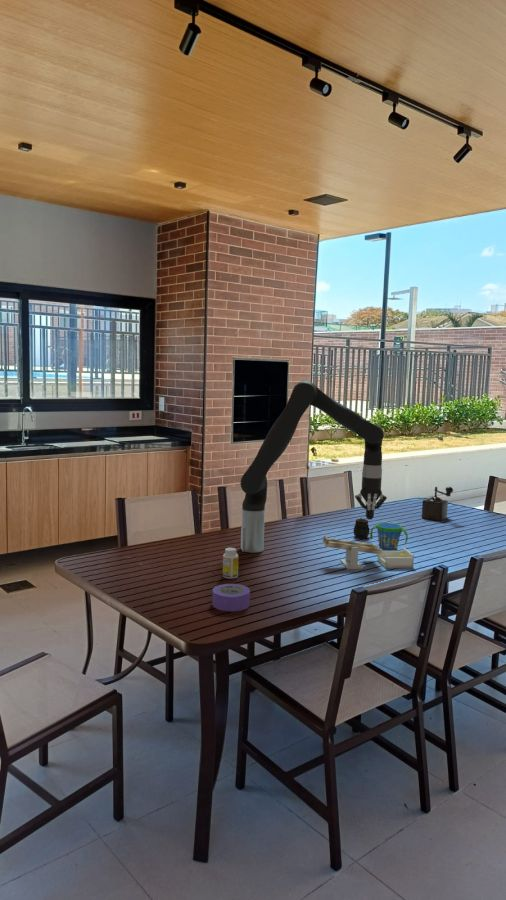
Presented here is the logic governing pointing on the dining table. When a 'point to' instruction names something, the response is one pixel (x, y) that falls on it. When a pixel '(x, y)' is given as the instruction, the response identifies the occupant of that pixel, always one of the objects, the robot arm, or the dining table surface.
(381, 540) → the snack cup
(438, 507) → the brown manual coffee grinder
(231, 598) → the tape roll
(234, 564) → the supplement bottle
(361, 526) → the mate gourd
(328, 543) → the lever
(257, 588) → the dining table surface
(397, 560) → the tray
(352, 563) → the stand
